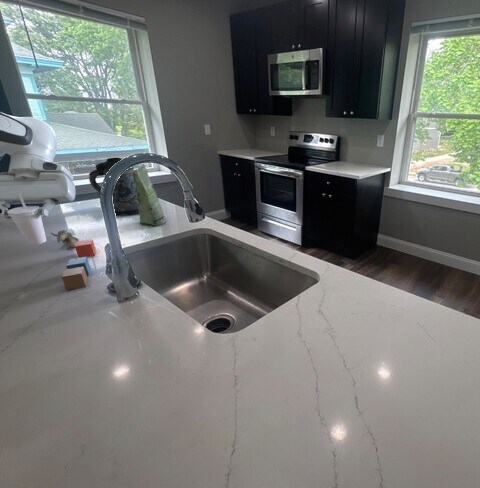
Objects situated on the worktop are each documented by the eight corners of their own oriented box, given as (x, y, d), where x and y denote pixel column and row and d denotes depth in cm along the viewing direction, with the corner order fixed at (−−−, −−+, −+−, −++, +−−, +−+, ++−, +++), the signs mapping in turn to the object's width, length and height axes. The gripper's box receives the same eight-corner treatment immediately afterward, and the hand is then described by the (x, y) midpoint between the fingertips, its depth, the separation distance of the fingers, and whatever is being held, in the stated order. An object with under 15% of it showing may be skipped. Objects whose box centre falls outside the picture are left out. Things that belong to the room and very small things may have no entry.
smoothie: (38, 247, 80) (17, 197, 74) (15, 246, 80) (-9, 196, 74) (58, 237, 86) (40, 190, 80) (36, 237, 86) (16, 189, 80)
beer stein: (156, 208, 150) (145, 157, 139) (118, 220, 134) (103, 164, 123) (134, 203, 156) (122, 154, 145) (95, 214, 140) (78, 159, 129)
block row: (66, 290, 85) (61, 277, 83) (80, 252, 106) (76, 241, 104) (86, 286, 87) (81, 273, 85) (96, 250, 108) (92, 239, 106)
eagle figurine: (46, 243, 108) (52, 246, 103) (53, 224, 109) (59, 226, 104) (72, 248, 114) (79, 251, 109) (78, 230, 115) (86, 232, 110)
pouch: (148, 229, 126) (134, 170, 115) (132, 223, 132) (118, 166, 121) (172, 222, 135) (161, 166, 124) (157, 216, 140) (145, 162, 129)
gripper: (-25, 166, 78) (-36, 214, 73) (68, 164, 83) (63, 209, 79) (-6, 179, 83) (-15, 224, 79) (80, 177, 89) (76, 219, 85)
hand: (25, 216), depth 79 cm, fingers closed on smoothie, 6 cm apart
